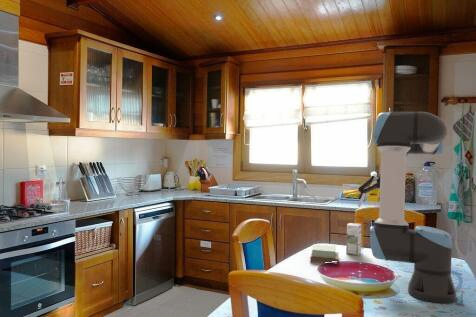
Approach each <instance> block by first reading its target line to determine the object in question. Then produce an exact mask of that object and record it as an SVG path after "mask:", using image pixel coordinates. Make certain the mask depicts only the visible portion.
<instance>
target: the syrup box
mask: <svg viewBox="0 0 476 317" xmlns="http://www.w3.org/2000/svg"><path fill="white" fill-rule="evenodd" d="M345 244H346V247H345V248H346V249H345V250H346V252H345V254H347V255H352V256H353V255H354V256H359V255H360V254H361V253H362V223H357V222H354V223H353V222H349V223H347V224H346V243H345Z"/></svg>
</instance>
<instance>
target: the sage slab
mask: <svg viewBox="0 0 476 317" xmlns="http://www.w3.org/2000/svg"><path fill="white" fill-rule="evenodd" d="M335 252H336V246H335V245H328V244H327V245H325V244H313V246H312V249H311V254H312V256H314V257H326V258H335Z"/></svg>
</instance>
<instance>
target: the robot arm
mask: <svg viewBox="0 0 476 317" xmlns="http://www.w3.org/2000/svg"><path fill="white" fill-rule="evenodd" d="M374 123H375V124H374V129H373V137H372V142H373V144H375V145H376V149H377V150H378V151H379V152H380V155H381V156H380V174H379V177H375V175H371V177H370V178H369V179H368V180H367V181H366V182H365V183H363V184H362V185H360V186H359V187H358V192H360V194H359V196H358V200H359V202H358V204H357V207H358V208H361V206H362V204H363V201H364V199H365V196H366V194H367V193H369V192H372V191H374V190H376V189H379V205H378V206H379V208H378V218H377V219H376V220H374V225H372V226H370V227H369V232H370V233H369V239H370V248H371V254H372V256H373V257H374V258H375V259H377V260H384V261H386V262H387V261H389V262H390V261H392V262H398V263H408V264H413V266H414V267H413V272H412V275H411V278H410V280H409V283H408V286H407V293H408V294H409V295H410V296H412V297H413V298H416V299H418V300H421V301H426V302H429V303H430V302H431V303H437V304H448V303H454V302H455V301H456V300H457V290H456V288H455V285H454V282H453V279H452V252H453V250H452V249H453V239H452V235H451V234H450V233H449V232H447V231H445V230H442V229H440V228H436V227H431V226H424V225H416V226H415V227H414V229H409V222H407V221H406V220H405V209H406V208H405V207H406V206H405V205H406V204H405V200H406V198H405V197H406V171H407V170H406V167H407V166H406V165H407V156H408V155H413V154H414V155H418V154H419V155H441V154H443V150H444V140H445V139H446V137H447V134H448V126H447V124H446V122H445V121H444V120H443V119H442V118H440V117H439V116H437V115H435V114H433V113H431V112H426V111H390V112H389V111H387V112H380V113H379V114H378V115H377V116H376V119H375V122H374ZM373 182H376V183H373ZM372 183H373V184H372ZM371 184H372V185H371Z"/></svg>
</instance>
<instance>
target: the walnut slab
mask: <svg viewBox="0 0 476 317" xmlns="http://www.w3.org/2000/svg"><path fill="white" fill-rule="evenodd" d="M332 261H338V262H339V252H336V251H335V258H326V257H314V256H312V253H311V255H310V263H313V264H314V263H315V264H323V263H325V262H332Z"/></svg>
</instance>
